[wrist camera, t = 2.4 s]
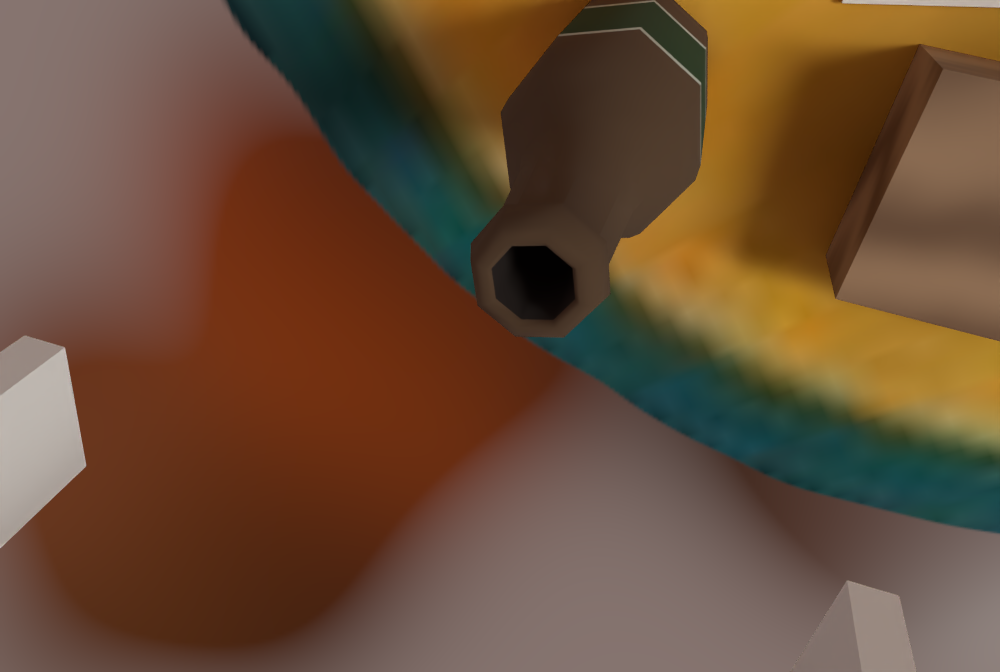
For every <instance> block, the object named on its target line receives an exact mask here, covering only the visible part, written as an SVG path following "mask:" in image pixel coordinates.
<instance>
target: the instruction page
mask: <svg viewBox="0 0 1000 672" xmlns="http://www.w3.org/2000/svg"><path fill="white" fill-rule="evenodd" d="M842 3H854V4H891V5H927V6H963V7H999V8H1000V0H842Z"/></svg>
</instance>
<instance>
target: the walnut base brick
mask: <svg viewBox="0 0 1000 672" xmlns="http://www.w3.org/2000/svg"><path fill="white" fill-rule="evenodd" d="M826 259H827V264H828V268H829V272H830V277H831V281H832V285H833V290H834V294H835V299H838V300H842V301H846V302H850V303H854V304H858V305H861V306H865V307H869V308H873V309H877V310H881V311H885V312H889V313H892V314H896V315H900V316H904V317H908V318H912V319H916V320H920V321H923V322H927V323H931V324H935V325H939V326H943V327H947V328H951V329H954V330H958V331H962V332H966V333H970V334H974V335H978V336H982V337H985V338H989V339H993V340H997V341H1000V61H995V60H991V59H986V58H981V57H977V56H972V55H968V54H963V53H958V52H954V51H949V50H945V49H940V48H936V47H931V46H926V45H922V44H920V45H919V47H918V49H917V51H916V54H915V56H914V58H913V60H912V63H911V65H910V67H909V69H908V72H907V74H906V76H905V78H904V81H903V83H902V85H901V87H900V90H899V92H898V94H897V96H896V99H895V101H894V103H893V105H892V108H891V110H890V112H889V114H888V117H887V119H886V121H885V123H884V126H883V128H882V130H881V132H880V135H879V137H878V139H877V141H876V144H875V146H874V148H873V150H872V153H871V155H870V157H869V159H868V162H867V164H866V166H865V168H864V171H863V173H862V175H861V177H860V180H859V182H858V184H857V186H856V189H855V191H854V193H853V195H852V198H851V200H850V202H849V204H848V207H847V209H846V211H845V213H844V216H843V218H842V220H841V222H840V225H839V227H838V229H837V231H836V234H835V236H834V238H833V240H832V243H831V245H830V247H829V249H828V252H827V254H826Z"/></svg>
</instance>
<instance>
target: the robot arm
mask: <svg viewBox="0 0 1000 672" xmlns="http://www.w3.org/2000/svg"><path fill="white" fill-rule="evenodd" d="M85 467H86V462H85V457H84V451H83V445H82V440H81V435H80V429H79V423H78V418H77V412H76V407H75V401H74V396H73V390H72V385H71V379H70V373H69V368H68V363H67V357H66V351H65V348H64V347H62V346H58V345H55V344H51V343H48V342H45V341H41V340H38V339H34V338H31V337H28V336H23V337H22V338H20V339H19V340H17V341H16V342H14V343H13V344H12V345H10V346H9V347H7V348H6V349H4V350H3V351H1V352H0V548H1V547H2V546H3V545H4V544H5V543H6V542H7V541H8V540H9V539H10V538H11V537H12V536H13V535H14V534H15V533H17V532H18V531H19V529H21V528H22V527H23V526H24V525H25V524H26V523H27V522H28V521H29V520H30V519H31V518H32V517H33V516H34V515H35V514H36V513H38V512H39V511H40V510H41V509H42V508H43V507H44V506H45V505H46V504H47V503H48V502H49V501H50V500H51V499H52V498H53V497H54V496H55V495H56V494H57V493H58V492H59V491H61V490H62V489H63V488H64V487H65V486H66V485H67V484H68V483H69V482H70V481H71V480H72V479H73V478H74V477H75V476H76V475H77V474H78V473H79V472H80V471H81V470H83V469H84V468H85ZM790 672H916V669H915V664H914V659H913V655H912V651H911V647H910V642H909V637H908V633H907V629H906V624H905V621H904V615H903V611H902V607H901V602H900V598H899V596H897V595H895V594H891V593H888V592H884V591H881V590H878V589H874V588H871V587H868V586H864V585H861V584H857V583H854V582H851V581H848V580H847V581H846V583H845V585H844V586H843V588H842V589H841V591H840V593H839V594H838V596H837V597H836V599H835V601H834V602H833V604H832V605H831V607H830V609H829V610H828V612H827V613H826V615H825V617H824V619H823V620H822V622H821V623H820V625H819V626H818V628H817V630H816V631H815V633H814V634H813V636H812V638H811V639H810V641H809V642H808V644H807V646H806V647H805V649H804V650H803V652H802V654H801V655H800V657H799V659H798V660H797V662H796V663H795V665H794V667H793V668H792V670H791V671H790Z"/></svg>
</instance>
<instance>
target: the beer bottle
mask: <svg viewBox="0 0 1000 672" xmlns="http://www.w3.org/2000/svg"><path fill="white" fill-rule="evenodd" d="M707 55H708V37H707V31H706V30H705V29H704V28H703V27H702V26H701V25H700V24H699V23H698V22H697V21H696V20H694V19H693V18H692V17H691V16H690V15H689V14H688V13H687V12H686V11H685V10H684V9H683V8H682V7H681V6H680V5H678V4H677V3H676V2H675V1H674V0H591V1H590V2H589V4H588V5H587V6H586V7H585V8H584V9H583V10H582V11H581V12H580V13H579V14H578V15H577V16H576V17H575V18H574V19H573V20H572V22H571V23H570V24H569V25H568V26H567V27H566V28H565V29H564V30H563V31H562V32H561V33H560V34H559V35H558V36H557V38H556V39H555V40H554V41H553V43H552V44H551V45H550V46H549V48H548V49H547V50H546V52H545V53H544V54H543V55H542V57H541V58H540V59H539V60H538V62H537V63H536V64H535V66H534V67H533V68H532V69H531V71H530V72H529V73H528V74H527V76H526V77H525V78H524V80H523V81H522V82H521V83H520V85H519V86H518V87H517V88H516V90H515V91H514V92H513V93H512V95H511V96H510V97H509V99H508V100H507V102H506V104H505V106H504V107H503V109H502V111H501V118H502V126H503V134H504V142H505V150H506V159H507V167H508V175H509V183H510V188H511V191H510V193H509V195H508V197H507V199H506V202H505V204H504V206H503V207H502V208H501V209H500V210H499V212H498V213H497V214H496V215H495V216H494V217H493V219H492V220H491V221H490V222H489V223H488V224H487V225H486V227H485V228H484V229H483V230H482V231H481V232H480V234H479V235H478V236H477V237H476V238H475V239H474V240H473V242H472V243H471V266H472V273H473V279H474V285H475V292H476V298H477V304H478V306H479V307H480V308H481V309H483V310H484V311H485V312H486V313H487V314H489V315H490V316H491V317H492V318H493V319H495V320H496V321H497V322H498V323H500V324H501V325H502V326H503V327H505V328H506V329H507V330H508V331H509V332H511V333H512V334H513V335H514V336H519V337H565V336H566V335H567V334H568V333H569V332H570V331H571V330H572V329H573V328H574V327H575V326H577V325H578V324H579V323H580V322H581V321H582V320H583V319H584V318H585V317H586V316H587V315H588V314H589V313H590V312H592V311H593V310H594V309H595V308H596V307H597V306H598V305H599V304H600V303H601V302H602V301H603V300H604V299H605V298H607V297H608V296H609V295H610V280H609V263H610V260H611V258H612V256H613V254H614V252H615V250H616V247H617V245H618V243H619V241H620V239H621V238H630V237H632V236H635V235H637V234H640V233H641V232H642V231H643V230H644V229H645V228H646V227H647V226H648V225H649V224H650V223H651V222H652V221H653V220H655V219H656V218H657V217H658V216H659V215H660V214H661V213H662V212H663V211H664V210H665V209H666V208H667V207H668V206H669V205H670V204H671V203H672V202H673V201H674V200H675V199H676V198H677V197H678V196H679V195H680V194H681V193H682V192H683V191H685V190H686V189H687V188H688V187H689V186H690V185H691V184H692V183H693V182H694V181H695V179H696V176H697V173H698V171H699V168H700V165H701V156H702V147H703V137H704V128H705V119H706V110H707Z"/></svg>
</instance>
